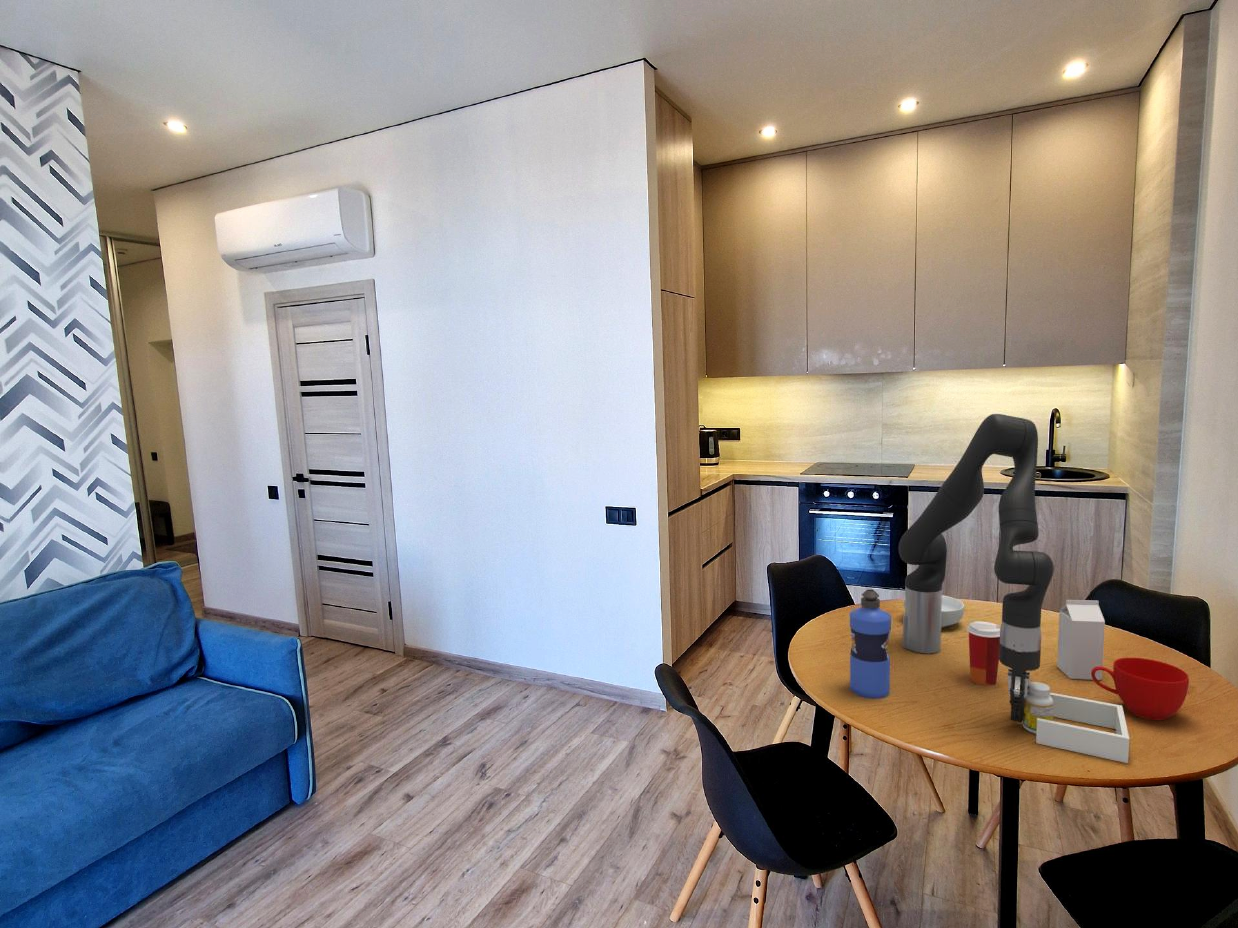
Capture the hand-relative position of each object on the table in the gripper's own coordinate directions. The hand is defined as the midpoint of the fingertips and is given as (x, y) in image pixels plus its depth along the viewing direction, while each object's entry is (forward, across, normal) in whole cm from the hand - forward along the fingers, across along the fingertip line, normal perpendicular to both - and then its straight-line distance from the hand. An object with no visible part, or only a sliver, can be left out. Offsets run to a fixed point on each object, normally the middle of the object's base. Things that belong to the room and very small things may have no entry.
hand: (1016, 720), depth 143 cm
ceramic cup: (+1, -20, +22) cm, 29 cm away
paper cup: (+1, -20, -8) cm, 22 cm away
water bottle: (+2, -2, -31) cm, 31 cm away
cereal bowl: (+1, -56, -24) cm, 61 cm away
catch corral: (+1, -2, +11) cm, 11 cm away
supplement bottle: (+1, 0, +4) cm, 4 cm away
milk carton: (+1, -36, +12) cm, 37 cm away
